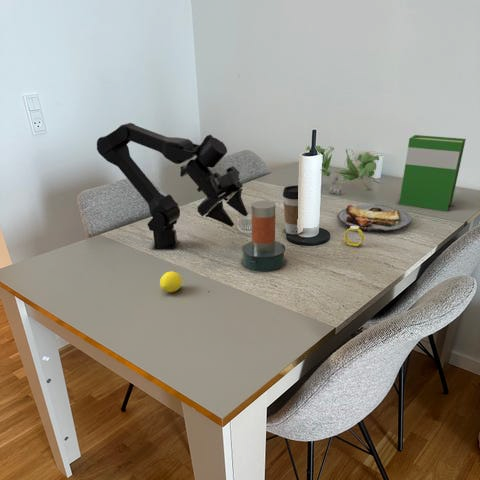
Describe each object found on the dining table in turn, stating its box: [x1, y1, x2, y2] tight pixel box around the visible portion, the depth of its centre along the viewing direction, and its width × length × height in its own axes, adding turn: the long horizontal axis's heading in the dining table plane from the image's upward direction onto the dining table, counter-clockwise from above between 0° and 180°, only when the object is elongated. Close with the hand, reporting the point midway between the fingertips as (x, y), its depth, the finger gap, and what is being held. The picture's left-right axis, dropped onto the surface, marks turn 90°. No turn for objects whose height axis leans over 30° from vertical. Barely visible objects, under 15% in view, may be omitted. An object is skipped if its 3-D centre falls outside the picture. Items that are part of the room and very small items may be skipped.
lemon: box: [159, 270, 183, 293], centre depth 123 cm, size 7×5×5 cm
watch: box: [343, 226, 365, 247], centre depth 145 cm, size 6×3×6 cm, turn 57°
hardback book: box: [398, 134, 467, 212], centre depth 172 cm, size 18×7×24 cm, turn 58°
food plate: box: [336, 204, 413, 232], centre depth 163 cm, size 25×23×4 cm
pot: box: [241, 240, 286, 272], centre depth 137 cm, size 13×16×4 cm
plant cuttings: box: [305, 145, 381, 195], centre depth 193 cm, size 35×17×22 cm
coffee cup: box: [282, 185, 299, 236], centre depth 154 cm, size 8×8×15 cm
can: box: [250, 200, 276, 253], centre depth 132 cm, size 7×7×13 cm
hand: (240, 220), depth 134 cm, fingers open, 9 cm apart
